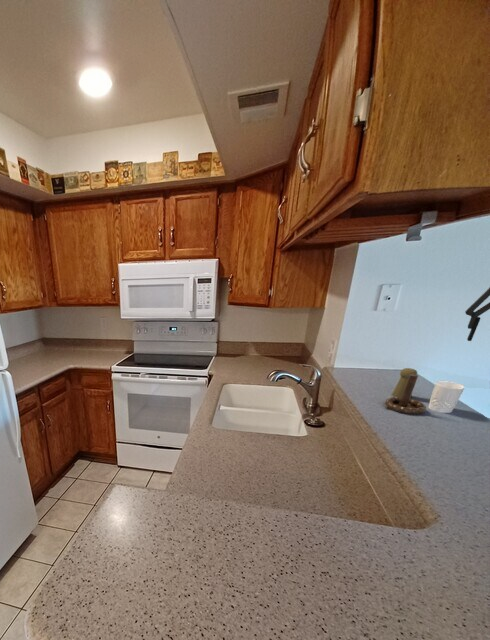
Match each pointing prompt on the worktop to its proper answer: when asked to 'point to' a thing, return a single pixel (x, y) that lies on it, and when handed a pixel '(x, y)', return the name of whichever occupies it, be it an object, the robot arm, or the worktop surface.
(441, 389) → the white cup
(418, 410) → the ring
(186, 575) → the worktop surface
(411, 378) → the stand
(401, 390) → the cork
